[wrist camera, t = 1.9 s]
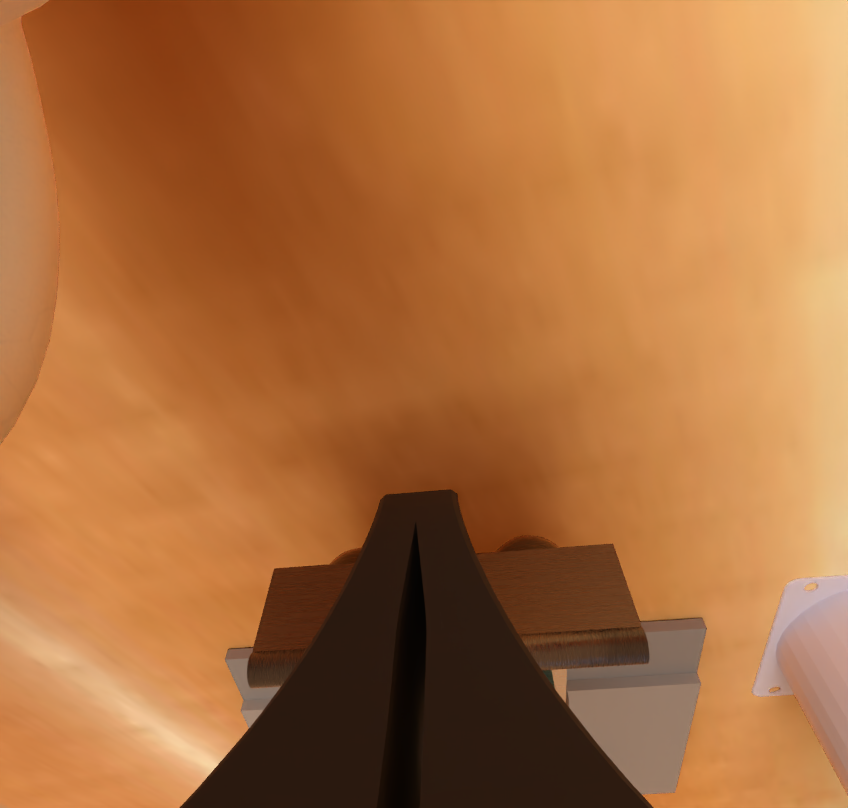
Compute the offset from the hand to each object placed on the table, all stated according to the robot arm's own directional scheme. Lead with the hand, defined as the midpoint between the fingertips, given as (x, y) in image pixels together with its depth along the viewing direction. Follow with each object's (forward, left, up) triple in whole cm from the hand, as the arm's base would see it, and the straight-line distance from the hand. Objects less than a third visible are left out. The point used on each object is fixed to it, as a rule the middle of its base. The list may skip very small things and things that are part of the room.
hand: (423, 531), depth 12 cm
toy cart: (0, +9, -5) cm, 10 cm away
